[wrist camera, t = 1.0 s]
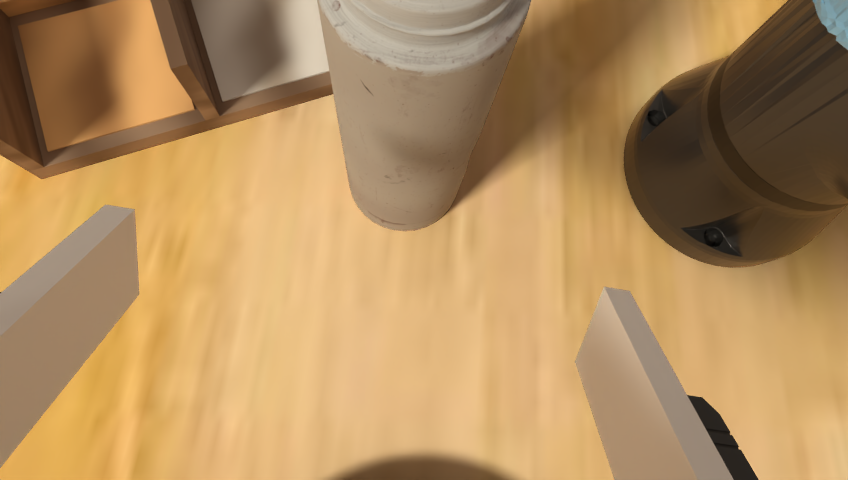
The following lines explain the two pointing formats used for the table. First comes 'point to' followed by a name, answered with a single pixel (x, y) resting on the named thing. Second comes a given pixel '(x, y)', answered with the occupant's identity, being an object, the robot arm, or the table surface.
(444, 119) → the thermos bottle
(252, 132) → the table surface
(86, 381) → the table surface
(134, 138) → the rack
